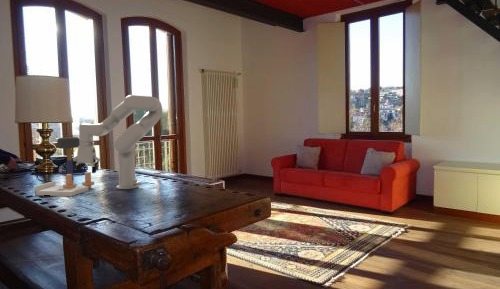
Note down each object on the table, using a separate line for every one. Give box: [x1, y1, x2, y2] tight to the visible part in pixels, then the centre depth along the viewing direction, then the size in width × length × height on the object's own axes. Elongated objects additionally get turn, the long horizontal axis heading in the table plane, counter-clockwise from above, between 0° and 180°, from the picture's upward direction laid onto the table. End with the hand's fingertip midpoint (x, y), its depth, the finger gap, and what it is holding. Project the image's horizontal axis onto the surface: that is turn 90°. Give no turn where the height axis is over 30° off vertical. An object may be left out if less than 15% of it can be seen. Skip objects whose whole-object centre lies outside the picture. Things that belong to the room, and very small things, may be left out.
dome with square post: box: [81, 171, 95, 190], centre depth 221 cm, size 7×7×10 cm
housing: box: [34, 174, 89, 197], centre depth 209 cm, size 22×16×10 cm
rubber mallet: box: [56, 136, 79, 182], centre depth 241 cm, size 12×8×30 cm, turn 140°
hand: (86, 172), depth 220 cm, fingers open, 9 cm apart
